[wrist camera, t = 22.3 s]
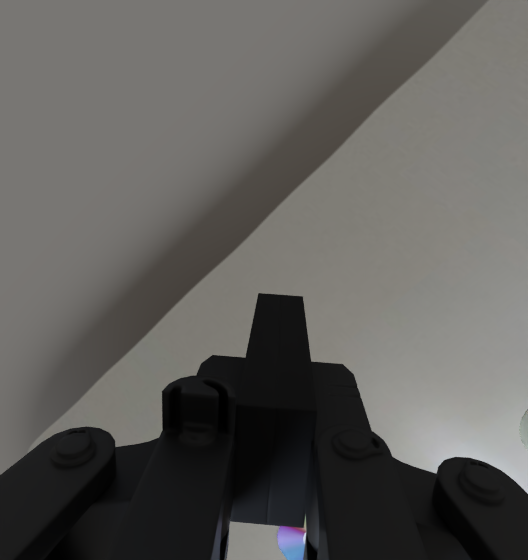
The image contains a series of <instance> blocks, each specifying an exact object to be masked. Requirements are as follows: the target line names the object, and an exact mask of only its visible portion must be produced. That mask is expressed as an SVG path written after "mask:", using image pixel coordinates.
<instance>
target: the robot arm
mask: <svg viewBox="0 0 528 560" xmlns="http://www.w3.org/2000/svg"><path fill="white" fill-rule="evenodd" d="M162 417H163V431H162V433H161V435H160V437H159V438H157V439H154V440H152V441H149V442H145V443H140V444H135V445H128V446H121V447H115V440H114V439H113V437H112V436H111V434H110V433H108V432H106V431H104V430H102V429H100V428H93V427H80V428H72V429H69V430H66V431H63V432H60V433H57V434H55V435H53V436H51V437H50V438H48V439H46V440H45V441H43V442H42V443H40V444H39V445H38V446H37V447H35V448H34V449H33V450H32V451H30V452H29V453H28V454H27V455H25V456H24V457H23V458H22V459H20V460H19V461H18V462H17V463H15V464H14V465H13V466H11V467H10V468H9V469H8V470H6V471H5V472H4V473H3V474H1V475H0V560H226V558H227V551H228V540H229V524H230V521H232V522H243V523H254V524H265V525H275V526H286V527H297V528H304V523H305V514H306V540H305V548H304V557H303V560H528V494H527V493H526V492H525V491H524V490H523V489H522V488H521V487H520V486H519V485H518V484H517V483H516V482H515V481H514V480H513V479H511V478H510V477H509V476H508V475H506V474H505V473H504V472H502V471H501V470H499V469H497V468H495V467H493V466H491V465H489V464H487V463H485V462H482V461H479V460H475V459H472V458H463V457H454V458H450V459H447V460H444V461H443V462H442V463H441V465H440V466H439V467H438V471H437V474H435V473H432V472H429V471H426V470H422V469H419V468H416V467H413V466H410V465H408V464H405V463H403V462H400V461H399V460H397V459H395V458H393V457H392V455H391V452H390V450H389V448H388V446H387V445H386V443H385V442H384V440H383V439H382V438H380V437H379V436H378V435H377V434H375V433H374V432H372V431H371V427H370V424H369V421H368V418H367V415H366V412H365V409H364V406H363V402H362V399H361V398H360V393H359V390H358V388H357V384H356V380H355V377H354V374H353V373H351V372H350V371H349V370H348V369H347V368H346V367H345V366H344V365H343V364H334V363H322V362H311V358H310V350H309V342H308V334H307V326H306V319H305V311H304V303H303V297H302V296H288V295H275V294H262V293H259V294H258V299H257V304H256V309H255V314H254V319H253V324H252V328H251V333H250V338H249V343H248V348H247V353H246V358H242V357H229V356H217V355H212V356H211V357H209V358H208V359H207V360H205V361H204V362H203V363H201V365H200V368H199V370H198V373H197V376H189V377H185V378H180V379H178V380H176V381H174V382H172V383H170V384H168V385H167V387H166V388H165V389H164V390H163V391H162ZM230 517H231V518H230Z"/></svg>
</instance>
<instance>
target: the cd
mask: <svg viewBox="0 0 528 560" xmlns="http://www.w3.org/2000/svg"><path fill="white" fill-rule="evenodd" d="M277 538H278V544H279V549H280V550H281V551H282V553H283V554H284V556H285V557H286V558H287V560H303V557H304V548H305V540H306V514H305V523H304V528H297V527H286V526H280V528H279V531H278V534H277Z"/></svg>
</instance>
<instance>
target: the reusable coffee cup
mask: <svg viewBox="0 0 528 560" xmlns="http://www.w3.org/2000/svg"><path fill="white" fill-rule="evenodd" d="M519 431H520V437H521V440H522V442H523V444H524V446H525V447H526V449H527V450H528V410H527V411H526V413H525V414H524V416H523V418H522V420H521V423H520V429H519Z"/></svg>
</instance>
